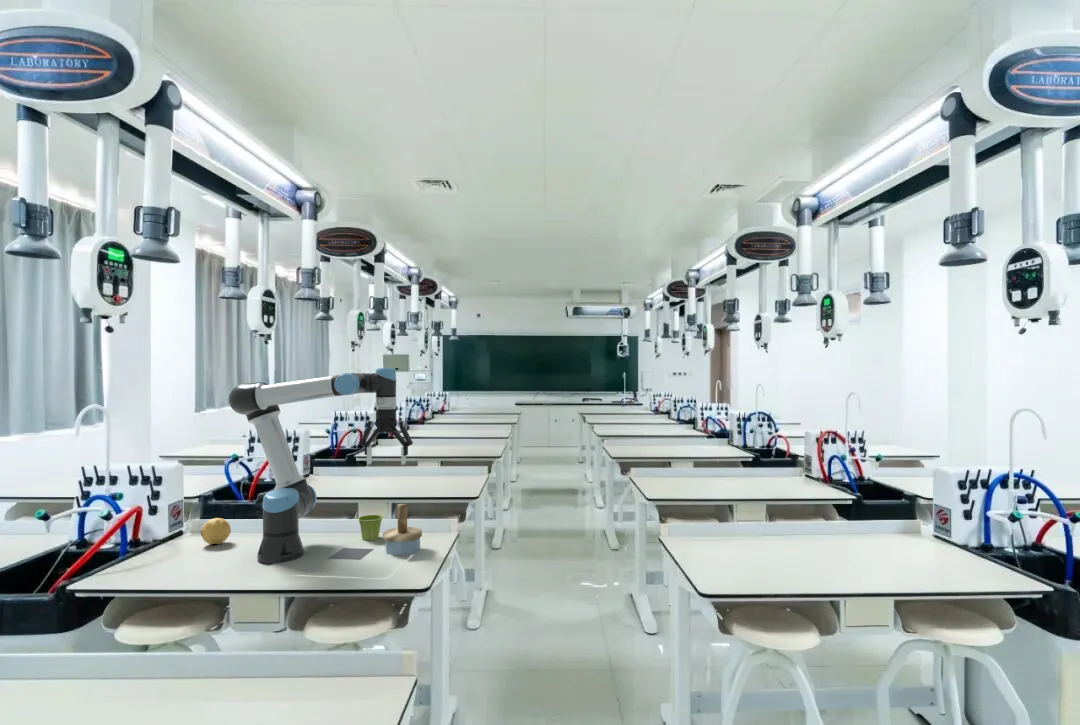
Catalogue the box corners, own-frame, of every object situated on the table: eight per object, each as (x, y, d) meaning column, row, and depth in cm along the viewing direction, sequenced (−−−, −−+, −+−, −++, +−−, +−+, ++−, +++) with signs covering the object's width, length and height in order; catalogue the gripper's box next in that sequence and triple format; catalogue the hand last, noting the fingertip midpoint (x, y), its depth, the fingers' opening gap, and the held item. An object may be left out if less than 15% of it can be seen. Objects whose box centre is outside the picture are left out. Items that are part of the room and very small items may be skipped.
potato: (210, 543, 225) (190, 532, 219) (228, 521, 230) (209, 509, 223) (222, 552, 220) (202, 541, 213) (240, 529, 224) (221, 517, 217)
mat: (327, 559, 202) (327, 558, 202) (343, 549, 214) (343, 547, 214) (360, 561, 201) (360, 559, 201) (374, 550, 213) (374, 548, 213)
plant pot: (364, 535, 232) (364, 514, 232) (386, 536, 230) (386, 514, 231) (353, 542, 222) (353, 520, 223) (376, 543, 221) (376, 520, 221)
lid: (376, 541, 205) (376, 509, 205) (391, 530, 219) (391, 500, 219) (414, 542, 204) (414, 509, 204) (426, 531, 218) (426, 500, 218)
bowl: (380, 555, 206) (380, 540, 206) (393, 545, 218) (393, 531, 218) (413, 557, 205) (413, 541, 205) (423, 546, 217) (423, 532, 217)
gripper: (350, 408, 218) (350, 465, 218) (414, 408, 215) (414, 465, 215) (359, 407, 225) (359, 461, 225) (420, 407, 222) (421, 462, 222)
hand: (386, 464), depth 220 cm, fingers open, 13 cm apart
